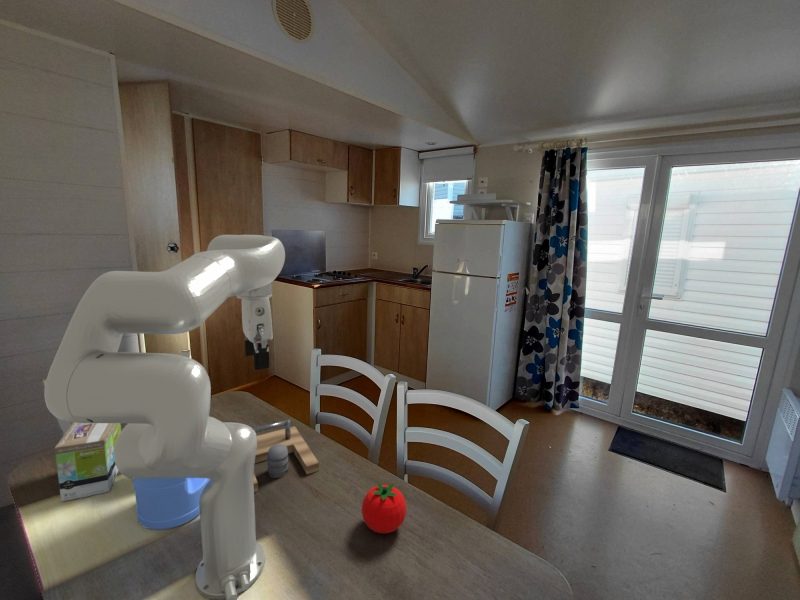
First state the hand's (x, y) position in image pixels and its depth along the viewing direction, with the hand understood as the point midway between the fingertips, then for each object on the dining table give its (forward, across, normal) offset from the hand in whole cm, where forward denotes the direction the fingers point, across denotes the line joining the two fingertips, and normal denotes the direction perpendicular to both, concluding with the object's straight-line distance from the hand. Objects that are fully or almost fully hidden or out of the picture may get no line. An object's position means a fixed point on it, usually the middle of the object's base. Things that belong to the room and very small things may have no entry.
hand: (256, 361), depth 87 cm
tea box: (+37, +28, +36) cm, 58 cm away
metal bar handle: (+34, +17, -6) cm, 38 cm away
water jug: (+36, +7, +18) cm, 41 cm away
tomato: (+36, -24, -22) cm, 49 cm away
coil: (+36, +7, -6) cm, 37 cm away
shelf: (+36, +13, -6) cm, 39 cm away
